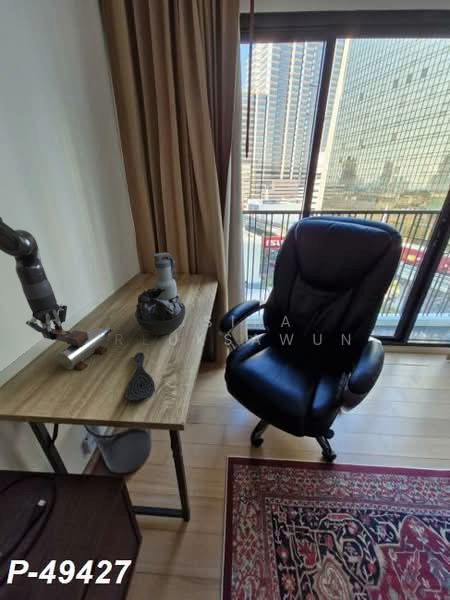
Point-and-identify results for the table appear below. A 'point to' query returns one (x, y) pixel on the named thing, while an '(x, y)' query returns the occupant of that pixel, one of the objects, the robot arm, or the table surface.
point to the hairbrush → (140, 382)
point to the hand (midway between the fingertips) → (56, 336)
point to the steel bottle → (84, 349)
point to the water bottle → (165, 275)
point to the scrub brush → (69, 336)
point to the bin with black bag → (159, 312)
